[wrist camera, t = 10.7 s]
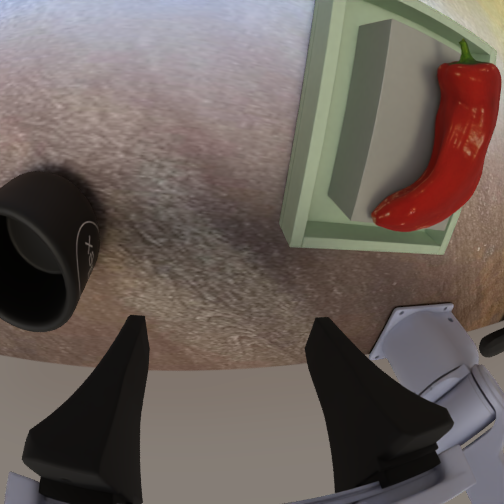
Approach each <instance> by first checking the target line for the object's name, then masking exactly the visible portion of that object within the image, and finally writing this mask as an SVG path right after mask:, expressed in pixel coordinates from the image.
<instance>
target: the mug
mask: <svg viewBox="0 0 504 504" xmlns="http://www.w3.org/2000/svg"><path fill="white" fill-rule="evenodd" d="M99 245H100V237H99V228H98V223H97V219H96V216H95V213H94V211H93V209H92V206H91V205H90V203H89V201H88V200H87V198H86V197H85V195H84V194H83V193H82V192H81V191H80V190H79V188H77V187H76V186H75V185H74V184H73V183H71V182H70V181H68V180H67V179H65V178H63V177H61V176H59V175H56V174H53V173H49V172H40V171H35V172H28V173H25V174H22V175H19V176H18V177H16V178H14V179H12V180H11V181H9V182H8V183H7V184H5V185H4V186H3V187H1V188H0V318H1V319H2V320H4V321H6V322H7V323H9V324H11V325H13V326H15V327H18V328H20V329H23V330H27V331H32V332H47V331H52V330H55V329H57V328H59V327H61V326H62V325H64V324H65V323H66V322H67V321H68V320H69V318H70V317H71V316H72V314H73V312H74V310H75V308H76V306H77V304H78V301H79V299H80V296H81V294H82V292H83V290H84V288H85V285H86V283H87V281H88V279H89V276H90V274H91V272H92V270H93V268H94V266H95V263H96V260H97V257H98V253H99Z"/></svg>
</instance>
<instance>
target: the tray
mask: <svg viewBox="0 0 504 504" xmlns="http://www.w3.org/2000/svg"><path fill="white" fill-rule="evenodd" d="M387 19H394V20H397V21H399V22H401V23H403V24H406V25H408V26H410V27H412V28H414V29H416V30H418V31H420V32H422V33H424V34H426V35H428V36H430V37H432V38H434V39H436V40H438V41H439V42H441V43H443V44H445V45H447V46H448V47H450V48H452V49H454V50H455V51H457V52H459V53H460V54H461V51H462V50H461V46H460V44H459V42H460V41H462V38H464V39H465V41H466V42H467V44H468V47H469V51H470V53H471V56H472V57H473V58H474V59H475V60H476V61H481V62H488V63H492V64H494V65H496V55H497V51H496V50H495V49H494V48H492V47H491V46H490V45H488V44H487V43H486V42H484V41H483V40H482V39H480V38H479V37H477V36H476V35H475V34H473V33H472V32H470V31H469V30H467V29H466V28H464V27H463V26H461V25H460V24H458V23H457V22H455V21H454V20H452V19H450V18H449V17H447V16H445V15H444V14H442V13H440V12H439V11H437V10H435V9H433V8H432V7H430V6H428V5H426V4H424V3H422V2H420V1H419V0H315V7H314V14H313V21H312V28H311V35H310V42H309V48H308V55H307V61H306V68H305V74H304V80H303V87H302V93H301V99H300V105H299V111H298V117H297V123H296V129H295V135H294V141H293V147H292V153H291V158H290V164H289V170H288V176H287V181H286V187H285V192H284V198H283V203H282V209H281V214H280V220H279V225H280V227H281V229H282V231H283V233H284V236H285V238H286V240H287V242H288V244H289V247H299V248H300V247H302V248H320V249H341V250H362V251H382V252H402V253H421V254H438V255H444V252H445V250H446V248H447V245H448V243H449V240H450V238H451V236H452V233H453V231H454V228H455V225H456V223H457V220H458V217H459V215H460V212H461V209H462V207H461V208H460V209H459V210H457V211H456V212H455V213H453V214H452V215H451V216H450V218H449V220H448V223H447V226H446V228H445V231H440V230H432V229H424V228H423V229H419V230H415V231H411V232H399V231H393V230H389V229H386V228H384V227H381V226H377V225H375V224H374V223H367V222H357V221H350V220H349V218H348V217H347V216H346V215H345V214H344V213H343V212H342V211H341V209H340V208H339V207H338V206H337V205H336V204H335V203H334V202H333V201H332V200H331V198H330V197H329V196H328V190H329V186H330V182H331V177H332V173H333V168H334V164H335V159H336V154H337V150H338V145H339V140H340V135H341V130H342V125H343V120H344V114H345V109H346V104H347V98H348V93H349V87H350V81H351V75H352V69H353V63H354V57H355V50H356V43H357V36H358V29H359V26H360V25H365V24H369V23H373V22H378V21H382V20H387Z"/></svg>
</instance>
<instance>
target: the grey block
mask: <svg viewBox="0 0 504 504" xmlns="http://www.w3.org/2000/svg"><path fill="white" fill-rule="evenodd" d="M460 56H461V54H460V53H459V52H457V51H455V50H454V49H452V48H450V47H448V46H447V45H445V44H443V43H441V42H439V41H438V40H436V39H434V38H432V37H430V36H428V35H426V34H424V33H422V32H420V31H418V30H416V29H414V28H412V27H410V26H408V25H406V24H403V23H401V22H399V21H397V20H394V19H387V20H382V21H378V22H373V23H369V24H365V25H360V26H359V29H358V36H357V43H356V50H355V57H354V63H353V69H352V75H351V81H350V87H349V93H348V98H347V104H346V109H345V114H344V120H343V125H342V130H341V135H340V140H339V145H338V150H337V154H336V159H335V164H334V168H333V173H332V177H331V182H330V186H329V190H328V196H329V197H330V198H331V200H332V201H333V202H334V203H335V204H336V205H337V206H338V207H339V208H340V209H341V211H342V212H343V213H344V214H345V215H346V216H347V217H348V218H349V220H350V221H357V222H367V223H374V222H373V219H372V217H371V213H372V212H373V211H374V209H375V208H376V207H377V206H378V205H379V204H380V203H381V202H382V201H383V200H384V199H385V198H387V197H388V196H390V195H391V194H393V193H395V192H397V191H399V190H402V189H404V188H406V187H408V186H410V185H411V184H413V183H414V182H416V181H417V180H418V179H419V178H420V177H421V175H422V174H423V173H424V171H425V170H426V168H427V166H428V164H429V161H430V158H431V155H432V151H433V146H434V137H435V120H436V115H437V112H438V109H439V105H440V100H441V91H440V86H439V82H438V77H437V70H438V67H439V66H440V65H442V64H443V63H451V62H454V61H459V60H460ZM449 218H450V216H449V217H448V218H446V219H445V220H443V221H442V222H440V223H437V224H435V225H433V226H431V227H428V228H424V229H432V230H440V231H445V228H446V226H447V223H448V220H449Z"/></svg>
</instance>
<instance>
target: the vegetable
mask: <svg viewBox="0 0 504 504" xmlns="http://www.w3.org/2000/svg"><path fill="white" fill-rule="evenodd" d="M459 44H460V46H461V50H462V51H461V56H460V60H459V61H454V62H451V63H443V64H442V65H440V66H439V67H438V70H437V77H438V82H439V86H440V91H441V100H440V105H439V109H438V112H437V115H436V120H435V137H434V146H433V151H432V155H431V158H430V161H429V164H428V166H427V168H426V170H425V171H424V173H423V174H422V175H421V177H420V178H419V179H418V180H417V181H416V182H414V183H413V184H411V185H410V186H408V187H406V188H404V189H402V190H399V191H397V192H395V193H393V194H391V195H390V196H388V197H387V198H385V199H384V200H383V201H382V202H381V203H380V204H379V205H378V206H377V207H376V208H375V209H374V211H373V212H372V213H371V217H372V219H373V222H374V224H375V225H377V226H381V227H384V228H386V229H389V230H393V231H399V232H411V231H415V230H419V229H423V228H428V227H431V226H433V225H435V224H437V223H440V222H442V221H443V220H445V219H446V218H448V217H449V216H451V215H452V214H453V213H455V212H456V211H457V210H459V209H460V208H461V207H462V206H463V205H464V204H465V203H466V202H467V201H468V200H469V199H470V197H471V196H472V195H473V193H474V191H475V189H476V187H477V185H478V183H479V180H480V178H481V174H482V169H483V164H484V159H485V155H486V152H487V148H488V145H489V142H490V140H491V137H492V134H493V131H494V128H495V126H496V121H497V116H498V110H499V100H500V93H501V75H500V72H499V70H498V68H497V67H496V66H495V65H494V64H492V63H488V62H481V61H476V60H475V59H474V58H473V57H472V56H471V53H470V51H469V47H468V44H467V42H466V41H465V39H464V38H462V41H460V42H459Z"/></svg>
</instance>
